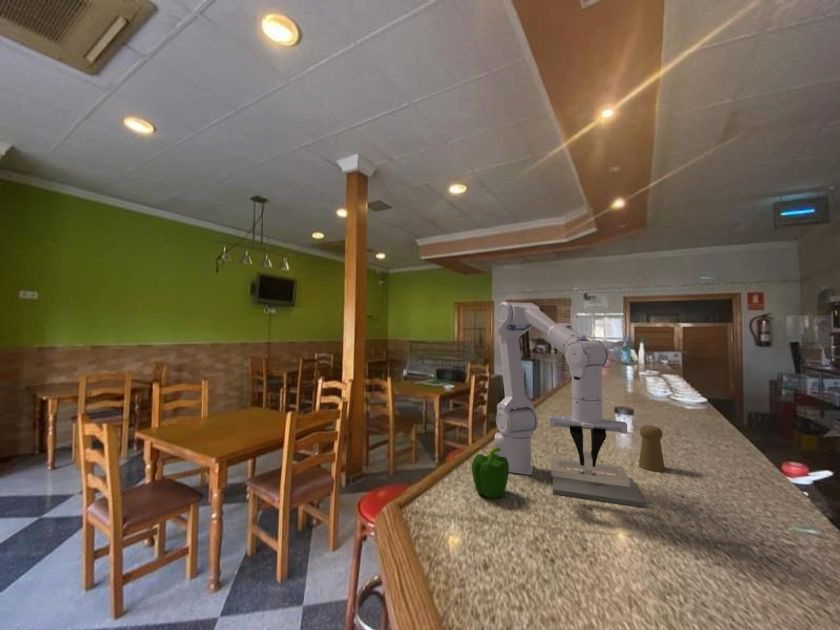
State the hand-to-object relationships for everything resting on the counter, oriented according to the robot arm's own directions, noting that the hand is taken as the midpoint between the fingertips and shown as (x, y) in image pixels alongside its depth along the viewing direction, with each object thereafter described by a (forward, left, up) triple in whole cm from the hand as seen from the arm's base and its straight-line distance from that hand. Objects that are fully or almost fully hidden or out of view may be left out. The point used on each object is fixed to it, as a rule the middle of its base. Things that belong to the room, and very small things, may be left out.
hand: (587, 464), depth 76 cm
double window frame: (0, 0, -2) cm, 2 cm away
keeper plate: (+2, +11, -9) cm, 15 cm away
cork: (+18, +31, -9) cm, 38 cm away
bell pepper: (-20, -1, -9) cm, 22 cm away
